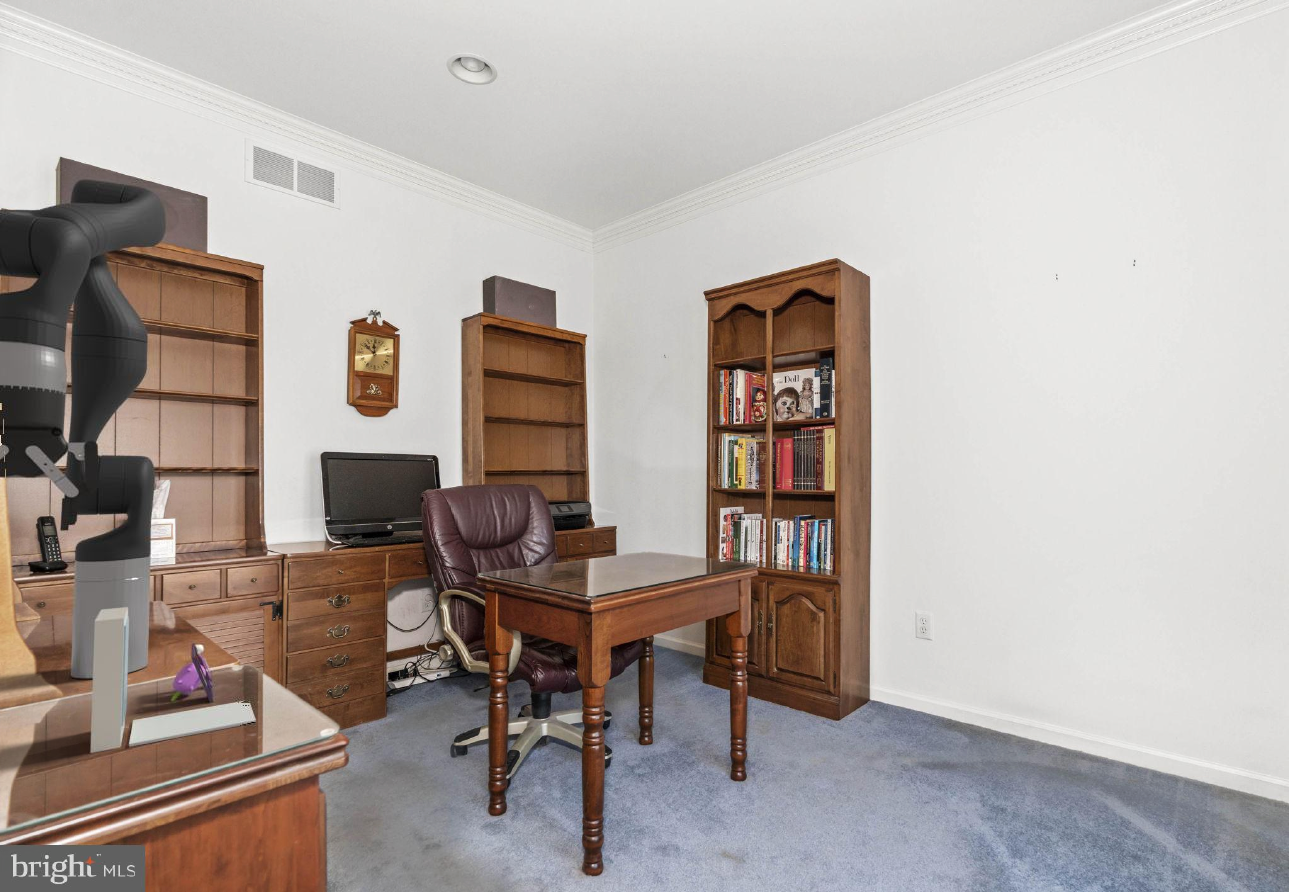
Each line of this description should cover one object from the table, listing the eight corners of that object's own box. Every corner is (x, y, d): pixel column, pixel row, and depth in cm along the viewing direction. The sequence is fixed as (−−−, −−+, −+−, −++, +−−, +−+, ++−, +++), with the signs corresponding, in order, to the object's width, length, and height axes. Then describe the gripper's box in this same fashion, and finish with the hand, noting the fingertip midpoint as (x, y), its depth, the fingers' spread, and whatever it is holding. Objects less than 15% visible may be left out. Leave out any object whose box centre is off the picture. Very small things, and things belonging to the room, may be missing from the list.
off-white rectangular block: (97, 730, 77) (101, 609, 78) (126, 725, 79) (129, 606, 79) (90, 753, 71) (94, 621, 71) (122, 747, 72) (125, 617, 73)
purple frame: (200, 653, 86) (200, 639, 94) (153, 673, 83) (157, 657, 91) (220, 699, 87) (218, 682, 95) (174, 720, 84) (176, 701, 92)
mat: (133, 722, 79) (133, 720, 79) (248, 702, 86) (248, 700, 86) (128, 746, 72) (129, 744, 72) (255, 722, 79) (255, 720, 79)
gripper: (101, 398, 82) (94, 529, 81) (-66, 386, 73) (-77, 534, 71) (104, 389, 77) (97, 530, 75) (-76, 375, 67) (-88, 536, 66)
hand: (13, 532), depth 73 cm, fingers open, 8 cm apart
